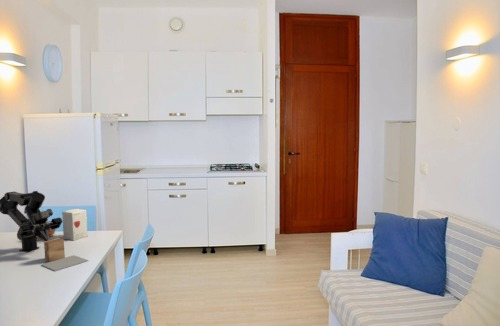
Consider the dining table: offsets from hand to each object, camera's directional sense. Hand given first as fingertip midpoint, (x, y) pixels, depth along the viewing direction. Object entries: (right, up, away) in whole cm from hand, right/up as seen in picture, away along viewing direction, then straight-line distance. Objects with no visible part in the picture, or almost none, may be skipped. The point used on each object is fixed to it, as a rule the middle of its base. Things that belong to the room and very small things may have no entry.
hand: (47, 241), depth 184 cm
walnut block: (+5, -8, -3) cm, 10 cm away
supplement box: (-1, -5, +33) cm, 33 cm away
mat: (+12, -8, -8) cm, 16 cm away
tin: (-18, -5, +33) cm, 38 cm away
